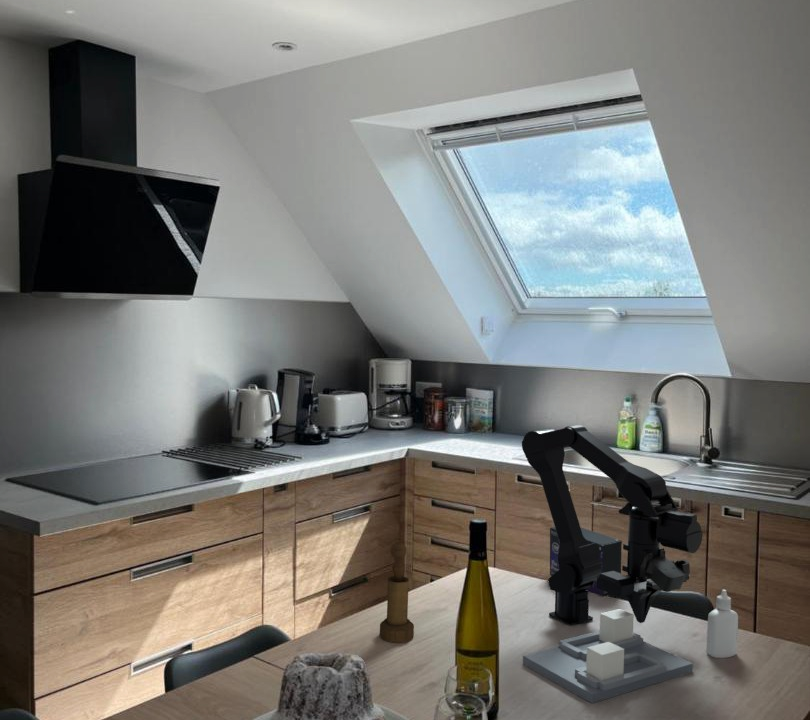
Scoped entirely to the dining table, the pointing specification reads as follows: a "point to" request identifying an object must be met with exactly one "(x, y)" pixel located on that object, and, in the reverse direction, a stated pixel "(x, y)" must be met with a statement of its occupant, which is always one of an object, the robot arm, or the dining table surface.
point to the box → (606, 548)
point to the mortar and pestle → (397, 602)
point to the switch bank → (639, 671)
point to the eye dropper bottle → (722, 629)
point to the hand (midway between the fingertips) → (640, 622)
